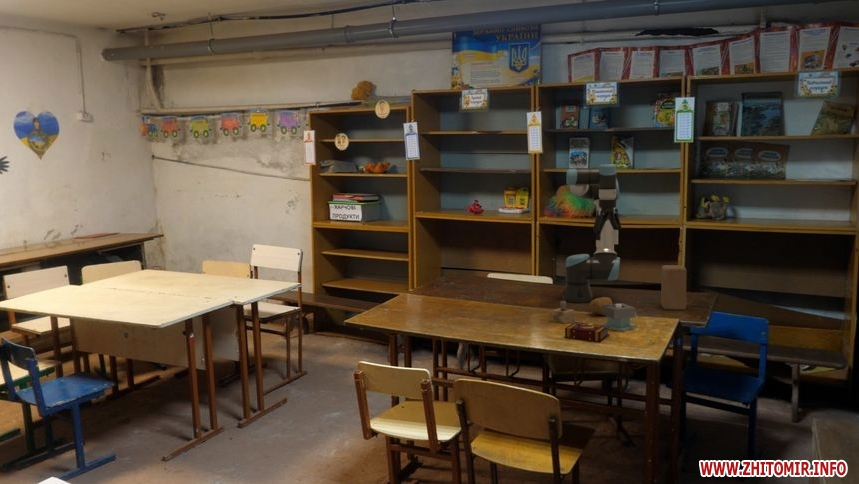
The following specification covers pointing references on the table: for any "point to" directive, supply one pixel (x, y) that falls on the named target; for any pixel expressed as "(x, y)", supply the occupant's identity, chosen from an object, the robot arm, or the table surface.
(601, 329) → the decorative book
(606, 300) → the potato
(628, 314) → the grey square frame
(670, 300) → the wooden block
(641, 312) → the table surface
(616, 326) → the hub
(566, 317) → the stand
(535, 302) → the table surface
